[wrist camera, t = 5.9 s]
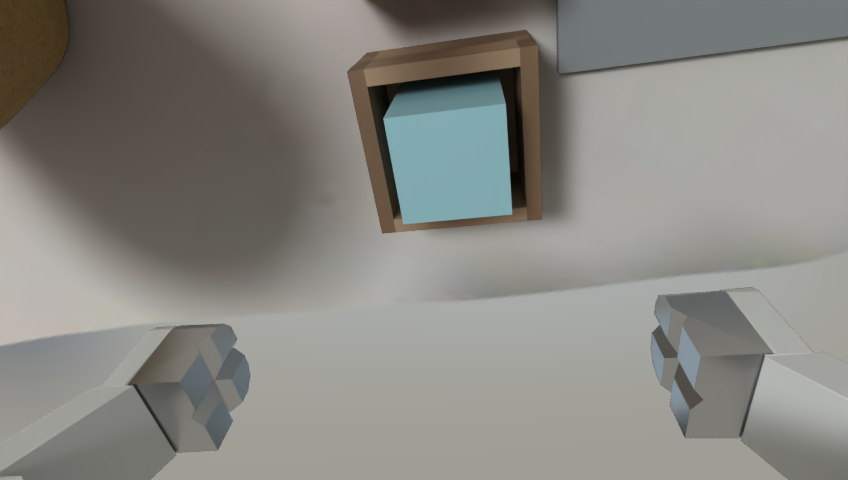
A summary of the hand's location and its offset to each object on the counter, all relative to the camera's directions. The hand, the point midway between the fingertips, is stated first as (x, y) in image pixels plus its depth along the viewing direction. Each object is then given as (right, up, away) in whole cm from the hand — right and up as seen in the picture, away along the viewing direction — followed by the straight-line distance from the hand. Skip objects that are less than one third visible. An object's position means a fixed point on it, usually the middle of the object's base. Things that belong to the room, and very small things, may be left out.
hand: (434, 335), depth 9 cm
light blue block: (+1, +7, +12) cm, 14 cm away
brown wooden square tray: (+1, +7, +12) cm, 14 cm away
